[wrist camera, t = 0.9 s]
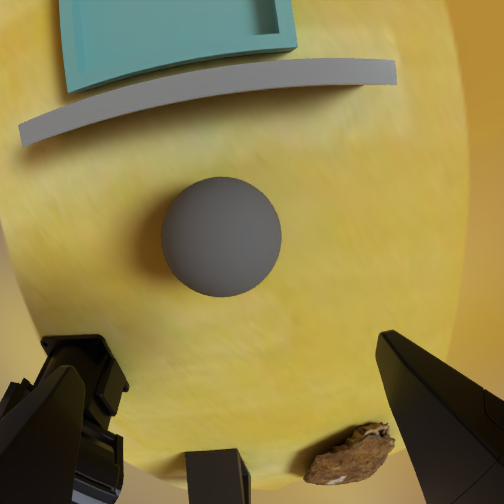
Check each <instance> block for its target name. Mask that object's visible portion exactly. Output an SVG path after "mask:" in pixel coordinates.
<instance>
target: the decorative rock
mask: <svg viewBox="0 0 504 504" xmlns="http://www.w3.org/2000/svg"><path fill="white" fill-rule="evenodd" d="M389 436H390V435H389V426H388V423H386V424H383V423H382V422H380V423H371V424H369V425H367V426H361V427H359V428H357V429H356V430H354V432H353V436H352V437H351V438H350V439H349V438H348V439H347V440H346V443H345V444H343V445H340V446H333V449H332V450H331V451H328V453H326V454H323V455H317V456H316V459H315V460H314V462H313V464H312V466H311V467H310V468H309V469H308V470H307V471H306V473H305V476H304V478H303V479H304V480H305V481H306V482H307V483H313V484H316V485H339V484H346V483H350V482H358V481H361V480H364V479H366V478H369V477H371V475H373V474H374V473H375V472H376V471H377V469H378V468H379V467H380V466H381V465H382V464H383V463H384V461H385V460H386V458H387V456H388V453H389V452H391V451H392V449H393V448H394V442H395V439H394V438H391V437H389Z"/></svg>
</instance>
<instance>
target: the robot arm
mask: <svg viewBox="0 0 504 504" xmlns="http://www.w3.org/2000/svg"><path fill="white" fill-rule="evenodd" d="M99 341H100V342H99ZM40 343H41V345H42V347H43V348H44V350H45V352H46V353H47V355H48V357H47V359H46V361H45V363H44V365H43V367H42V369H41V371H40V373H39V375H38V377H37V379H36V381H35V383H34V385H32V384H30V382H29V381H28V380H27V379H25V378H24V379H23V380H22V382H21V384H19V383H14V382H11V383H10V385H9V387H8V389H7V390H6V392H5V395H4V397H3V398H2V400H1V402H0V504H114V503H115V502H116V500H117V498H118V497H119V494H120V492H121V489H122V485H123V477H124V474H123V437H122V436H120V435H118V434H116V435H115V434H113V433H112V432H110V431H108V427H109V423H110V419H111V416H115V415H116V414H117V410H118V406H119V403H120V399H121V395H122V392H128V390H129V387H130V386H129V384H128V382H127V381H126V378H125V376H124V374H123V372H122V370H121V368H120V367H119V365H118V363H117V361H116V359H115V358H114V357H113V355H112V353H111V351H110V349H109V347H108V345H107V343H106V341H105V339H104V338H103V337H102V336H100V335H82V336H58V337H43V338H42V340H41V342H40ZM375 356H376V362H377V365H378V368H379V372H380V375H381V379H382V382H383V385H384V389H385V393H386V396H387V400H388V403H389V406H390V408H391V411H392V413H393V416H394V418H395V421H396V423H397V426H398V428H399V431H400V433H401V436H402V438H403V441H404V443H405V446H406V449H407V451H408V454H409V456H410V459H411V462H412V464H413V467H414V470H415V472H416V475H417V478H418V480H419V483H420V486H421V489H422V492H423V494H424V497H425V500H426V503H427V504H504V401H503V400H502V399H500V398H498V397H497V396H495V395H493V394H492V393H490V392H489V391H487V390H486V389H483V387H481V386H480V385H478V384H477V383H475V382H473V381H472V380H470V379H469V378H467V377H466V376H464V375H463V374H461V373H460V372H458V371H457V370H455V369H454V368H452V367H451V366H449V365H447V364H446V363H444V362H443V361H441V360H440V359H438V358H437V357H435V356H434V355H432V354H430V353H429V352H427V351H426V350H424V349H423V348H421V347H420V346H418V345H417V344H415V343H413V342H412V341H410V340H409V339H407V338H406V337H404V336H403V335H401V334H399V333H398V332H396V331H395V330H388V331H384V332H381V333H380V334H379V336H378V341H377V347H376V353H375Z"/></svg>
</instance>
